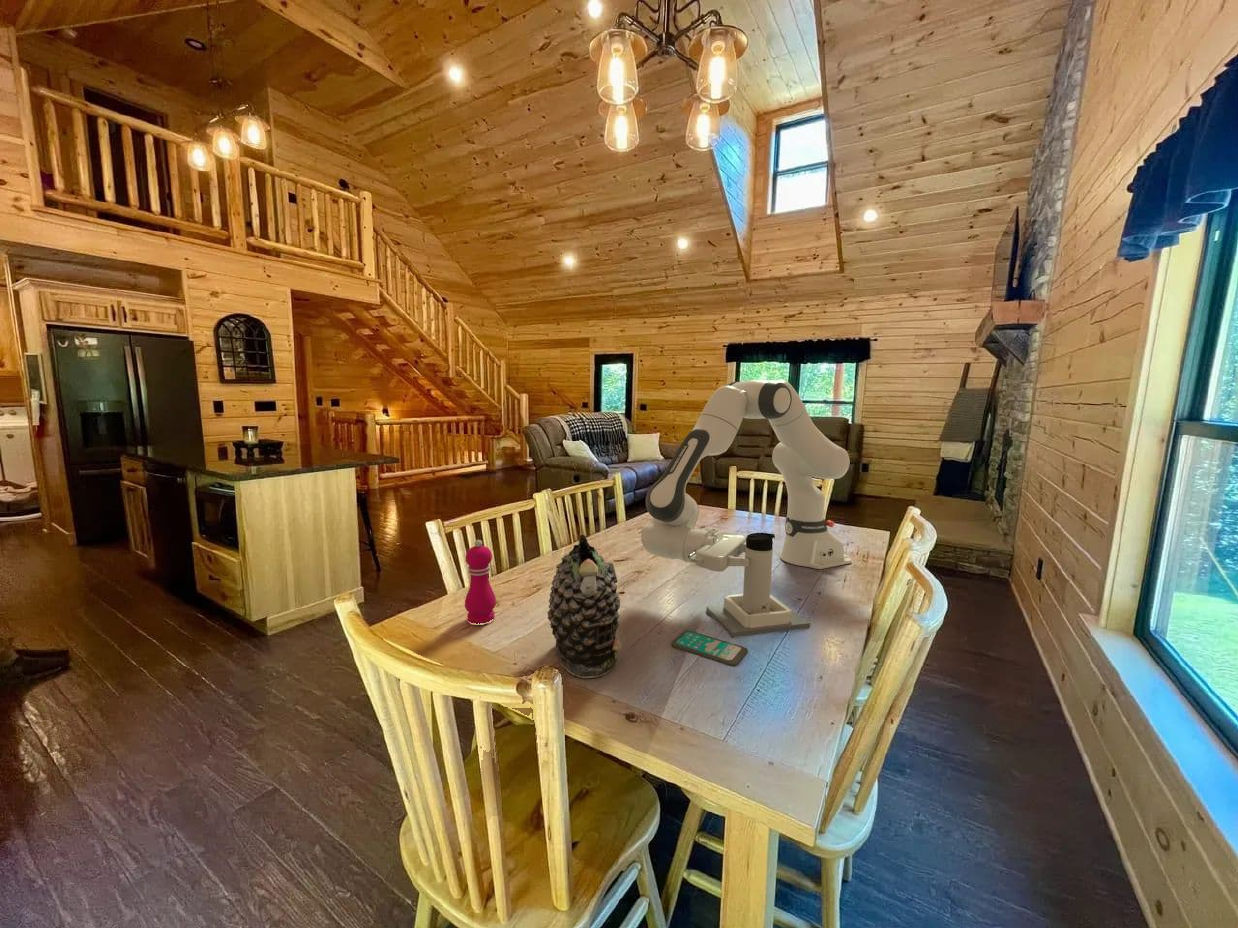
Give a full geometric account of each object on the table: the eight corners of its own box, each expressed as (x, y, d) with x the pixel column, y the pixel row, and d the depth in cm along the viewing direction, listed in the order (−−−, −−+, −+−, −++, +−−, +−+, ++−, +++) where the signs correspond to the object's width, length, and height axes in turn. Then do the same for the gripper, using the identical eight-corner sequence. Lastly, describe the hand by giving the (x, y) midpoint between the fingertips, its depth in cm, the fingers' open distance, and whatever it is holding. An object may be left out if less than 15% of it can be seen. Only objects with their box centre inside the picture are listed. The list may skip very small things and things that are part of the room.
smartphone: (735, 665, 99) (669, 643, 107) (735, 669, 99) (669, 647, 108) (750, 647, 106) (686, 628, 114) (749, 651, 106) (686, 632, 115)
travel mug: (771, 620, 117) (776, 538, 114) (742, 617, 118) (746, 536, 115) (769, 608, 123) (774, 531, 120) (742, 606, 124) (745, 529, 121)
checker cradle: (776, 602, 130) (777, 588, 129) (809, 627, 116) (810, 611, 116) (706, 610, 125) (706, 595, 124) (732, 637, 112) (733, 620, 111)
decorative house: (634, 678, 96) (636, 554, 92) (557, 690, 91) (555, 561, 88) (606, 628, 115) (607, 524, 112) (542, 637, 111) (540, 529, 107)
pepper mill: (502, 616, 121) (500, 537, 118) (485, 629, 114) (482, 546, 111) (477, 611, 123) (474, 534, 120) (459, 624, 117) (455, 542, 114)
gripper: (685, 545, 116) (743, 556, 109) (714, 526, 134) (766, 533, 127) (684, 571, 117) (741, 583, 110) (713, 548, 135) (765, 557, 128)
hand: (755, 556), depth 119 cm, fingers open, 8 cm apart
